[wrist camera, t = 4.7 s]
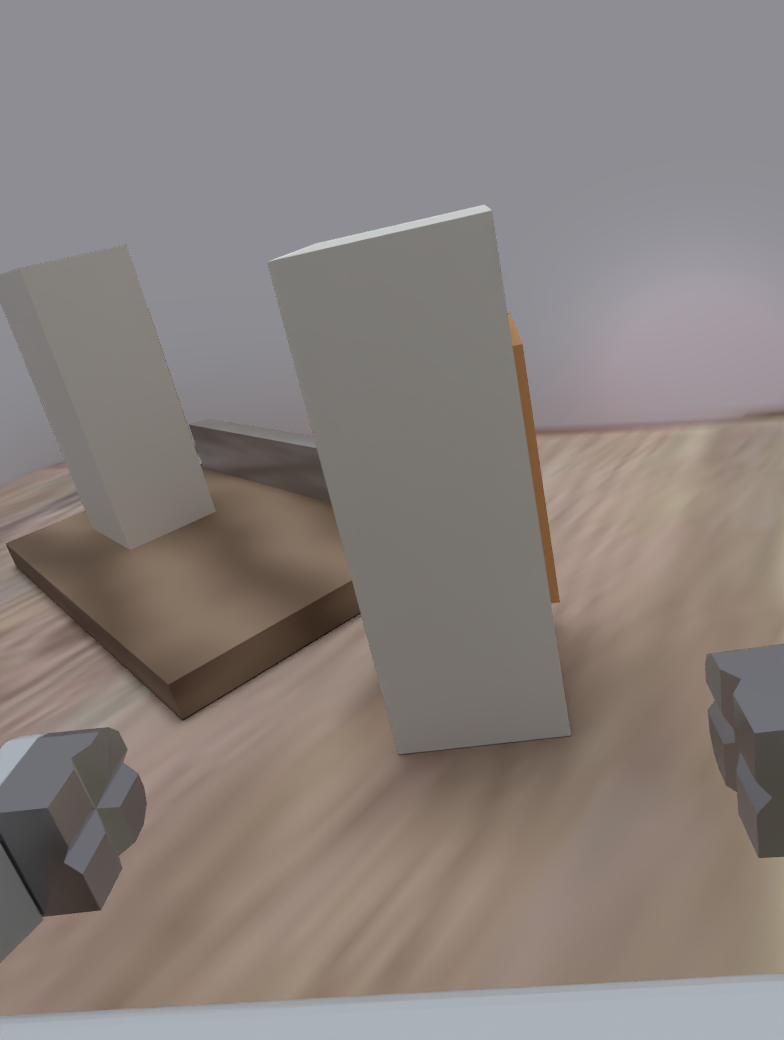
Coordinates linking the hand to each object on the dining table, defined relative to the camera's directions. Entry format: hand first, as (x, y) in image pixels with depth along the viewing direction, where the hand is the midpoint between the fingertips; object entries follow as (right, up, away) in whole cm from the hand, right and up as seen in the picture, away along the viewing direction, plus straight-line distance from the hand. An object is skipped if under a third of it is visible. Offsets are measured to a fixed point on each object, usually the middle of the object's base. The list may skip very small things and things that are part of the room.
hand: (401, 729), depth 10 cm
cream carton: (+3, -2, +14) cm, 14 cm away
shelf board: (-10, +1, +28) cm, 30 cm away
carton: (-13, +3, +31) cm, 34 cm away
